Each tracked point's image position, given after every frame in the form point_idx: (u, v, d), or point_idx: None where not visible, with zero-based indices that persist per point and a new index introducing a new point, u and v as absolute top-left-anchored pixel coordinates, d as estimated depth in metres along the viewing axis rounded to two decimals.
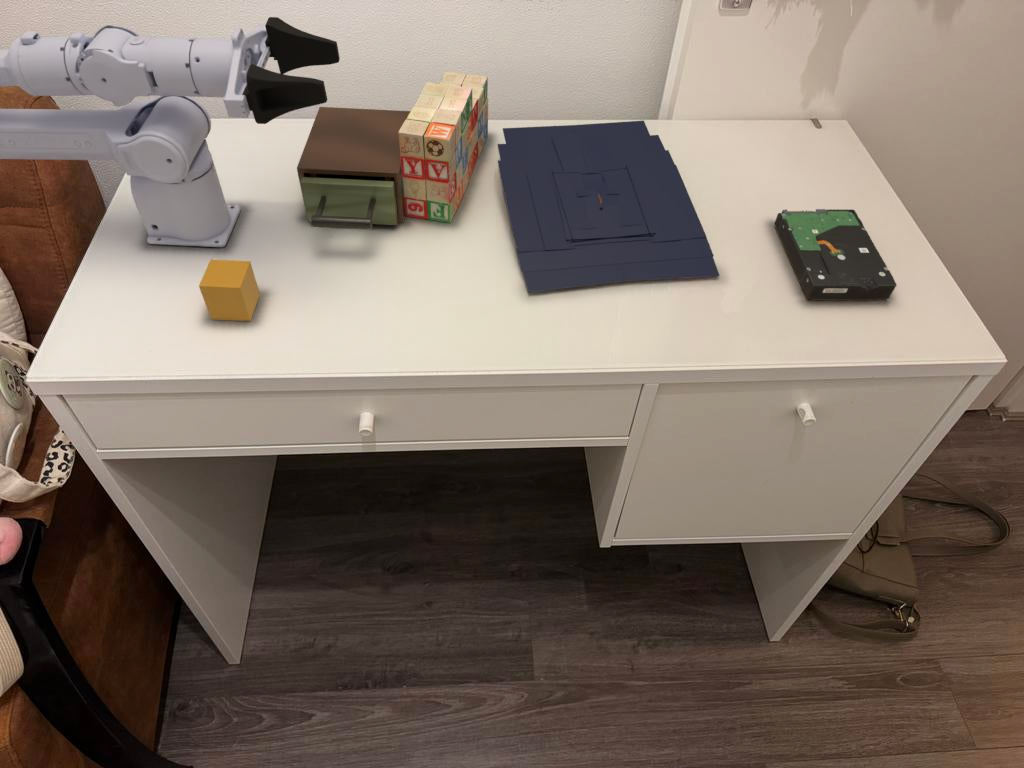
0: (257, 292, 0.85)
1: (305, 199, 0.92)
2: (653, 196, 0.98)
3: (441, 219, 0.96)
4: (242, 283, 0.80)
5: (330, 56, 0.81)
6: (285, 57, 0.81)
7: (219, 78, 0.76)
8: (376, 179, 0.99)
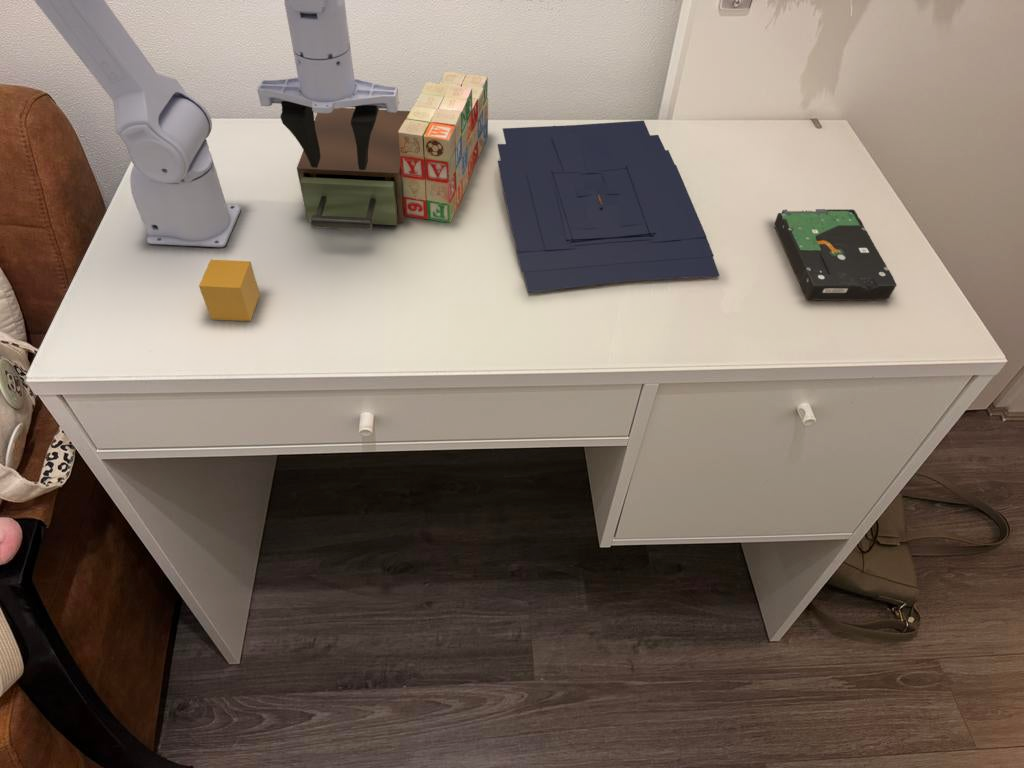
0: (257, 292, 0.85)
1: (305, 199, 0.92)
2: (653, 196, 0.98)
3: (441, 219, 0.96)
4: (242, 283, 0.80)
5: None
6: None
7: (297, 73, 0.78)
8: (376, 179, 0.99)
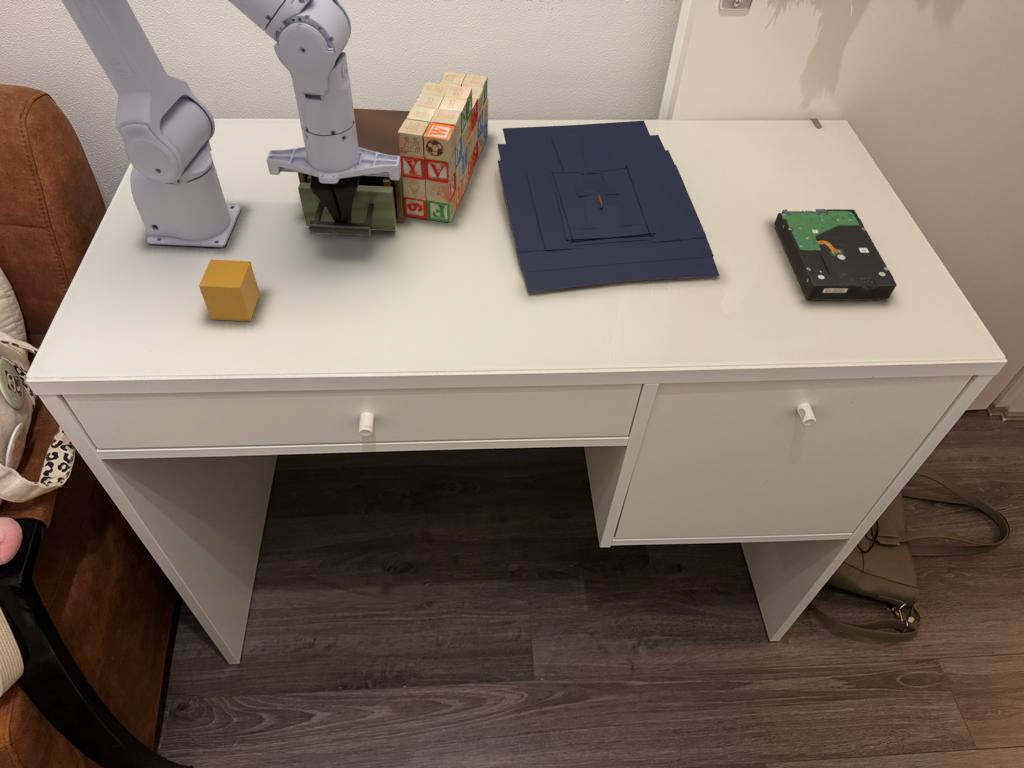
0: (257, 292, 0.85)
1: (303, 204, 0.91)
2: (653, 196, 0.98)
3: (441, 219, 0.96)
4: (242, 283, 0.80)
5: None
6: None
7: None
8: (375, 184, 0.98)
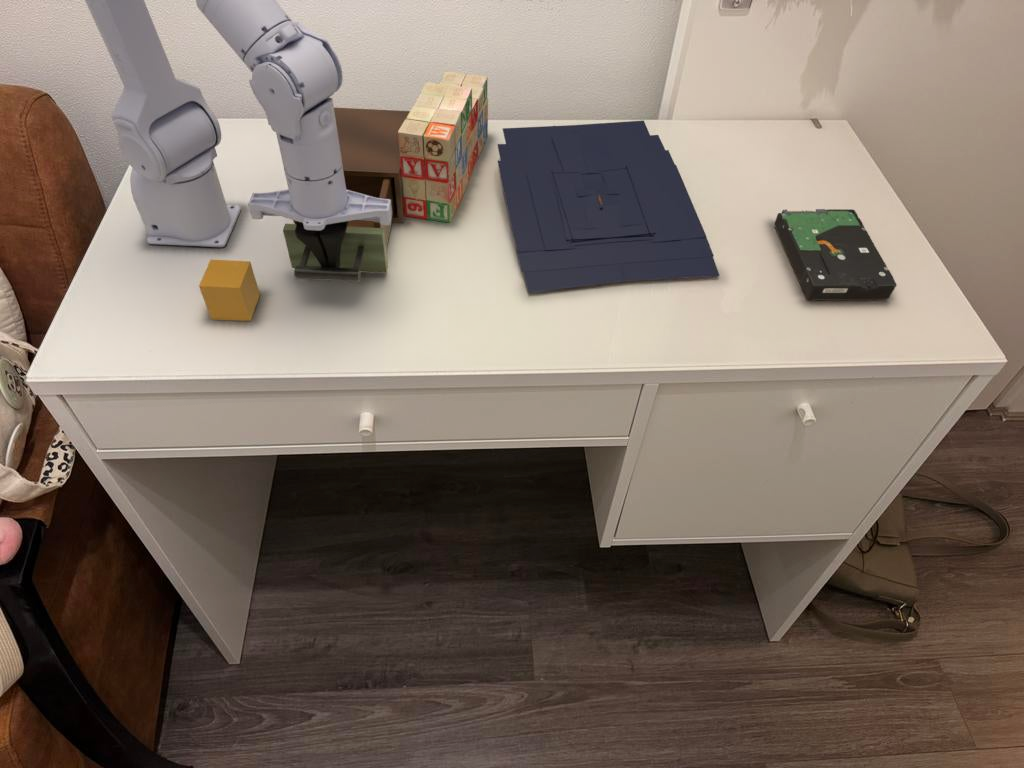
0: (257, 292, 0.85)
1: (289, 246, 0.86)
2: (653, 196, 0.98)
3: (441, 219, 0.96)
4: (242, 283, 0.80)
5: None
6: None
7: None
8: (365, 222, 0.93)
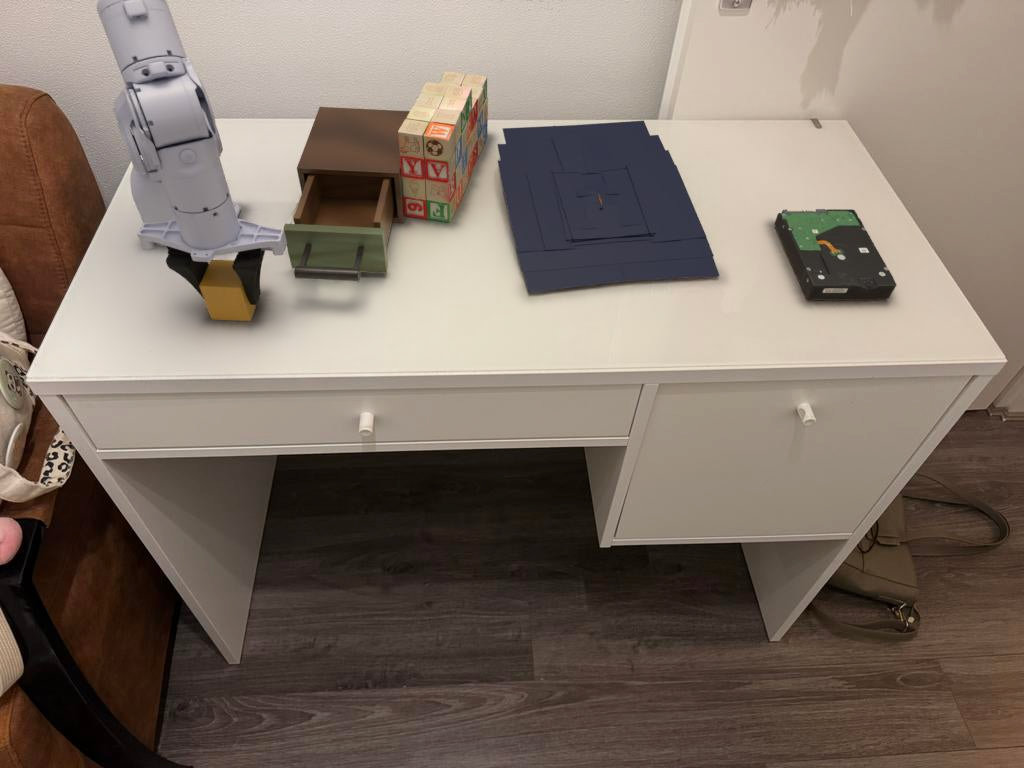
0: None
1: (289, 246, 0.86)
2: (653, 196, 0.98)
3: (441, 219, 0.96)
4: None
5: None
6: None
7: None
8: (365, 222, 0.93)
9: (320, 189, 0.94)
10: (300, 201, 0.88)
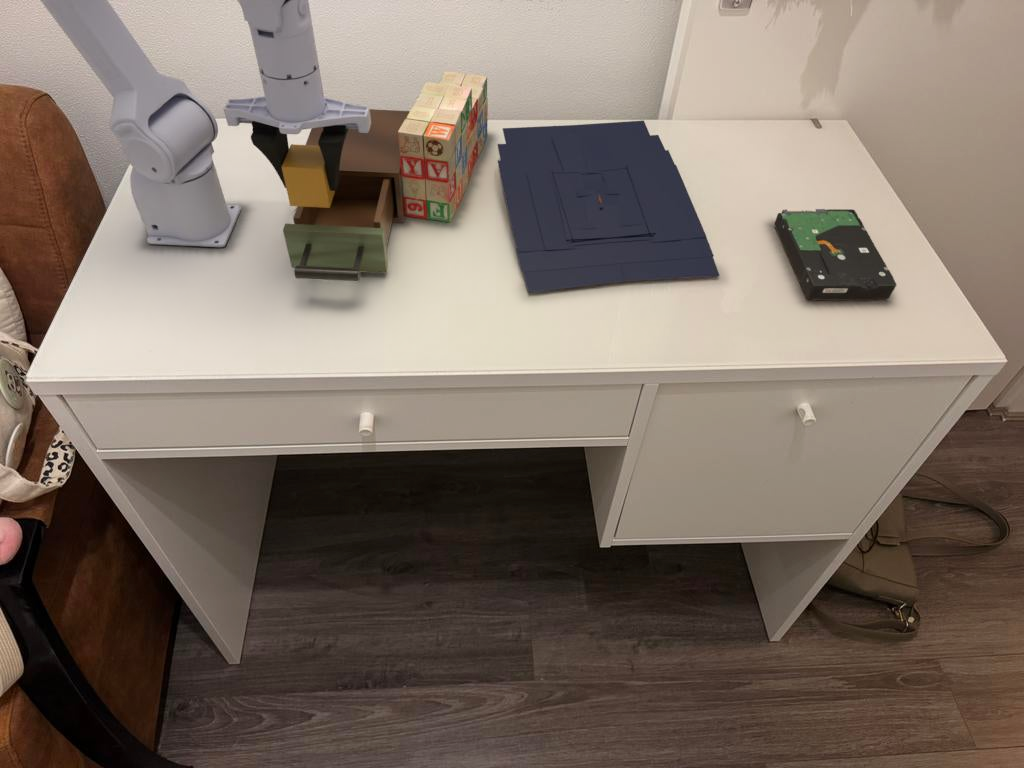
0: None
1: (289, 246, 0.86)
2: (653, 196, 0.98)
3: (441, 219, 0.96)
4: (324, 165, 0.80)
5: None
6: None
7: None
8: (365, 222, 0.93)
9: None
10: None
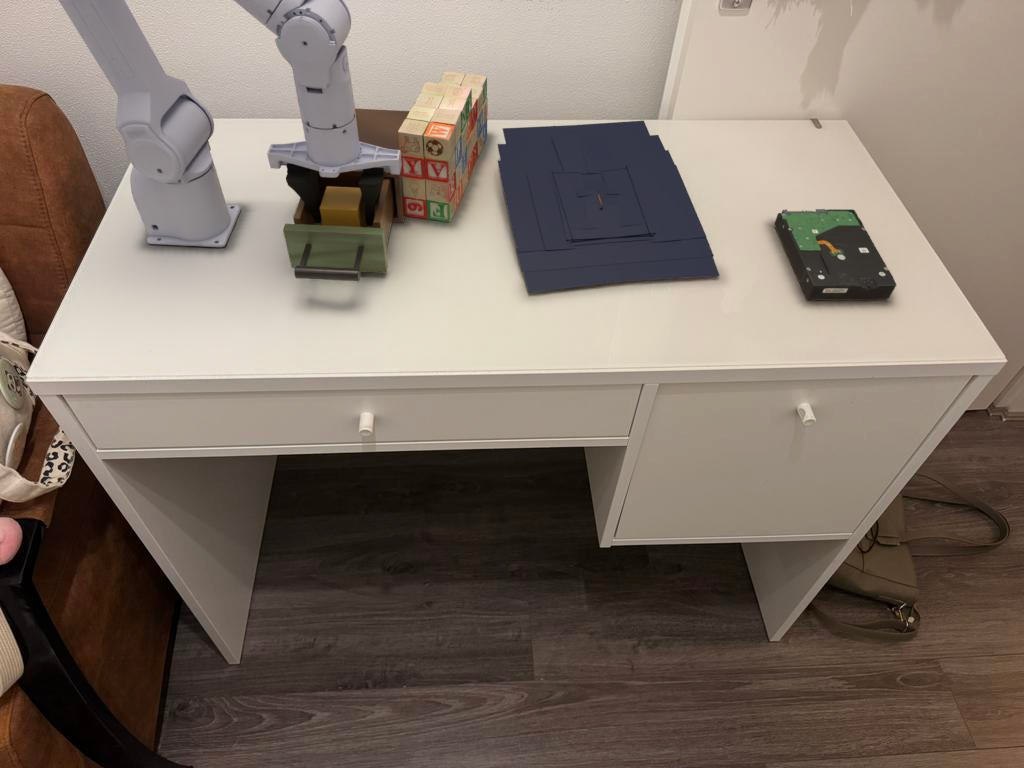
0: None
1: (289, 246, 0.86)
2: (653, 196, 0.98)
3: (441, 219, 0.96)
4: (358, 206, 0.87)
5: None
6: None
7: None
8: None
9: (320, 189, 0.94)
10: (300, 201, 0.88)
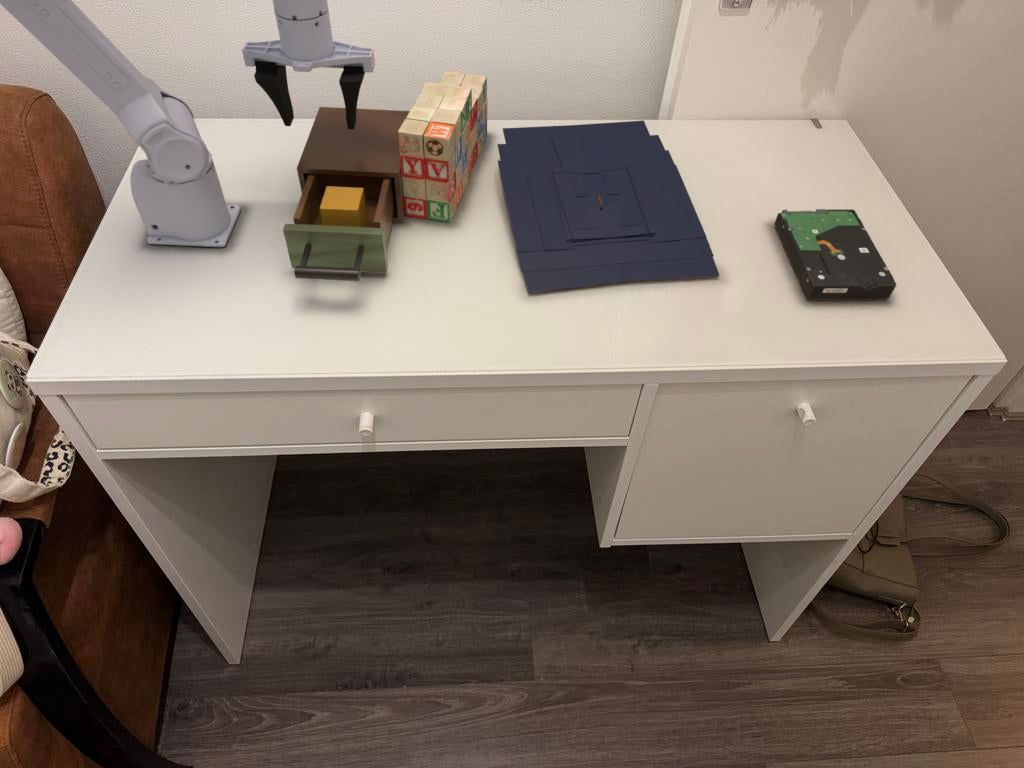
0: (366, 219, 0.92)
1: (289, 246, 0.86)
2: (653, 196, 0.98)
3: (441, 219, 0.96)
4: (358, 206, 0.87)
5: None
6: None
7: None
8: None
9: (320, 189, 0.94)
10: (300, 201, 0.88)
